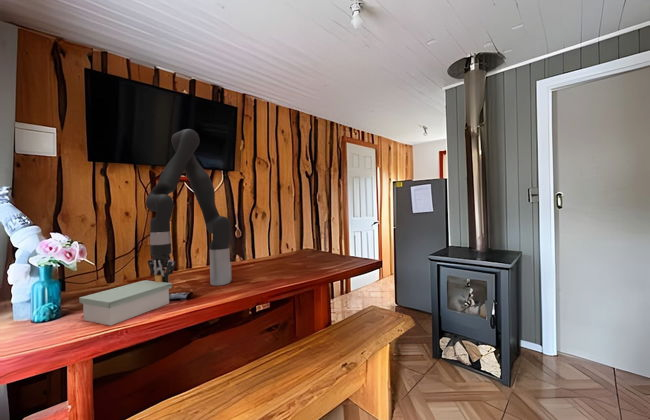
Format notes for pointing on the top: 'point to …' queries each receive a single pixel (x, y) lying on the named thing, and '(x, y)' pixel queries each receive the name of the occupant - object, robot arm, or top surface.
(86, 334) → the top surface
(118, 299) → the lid
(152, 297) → the tub
